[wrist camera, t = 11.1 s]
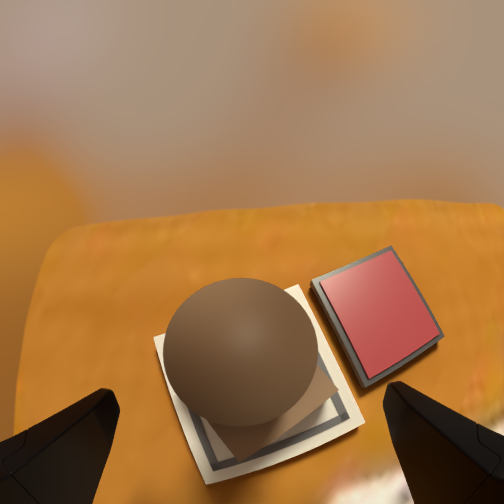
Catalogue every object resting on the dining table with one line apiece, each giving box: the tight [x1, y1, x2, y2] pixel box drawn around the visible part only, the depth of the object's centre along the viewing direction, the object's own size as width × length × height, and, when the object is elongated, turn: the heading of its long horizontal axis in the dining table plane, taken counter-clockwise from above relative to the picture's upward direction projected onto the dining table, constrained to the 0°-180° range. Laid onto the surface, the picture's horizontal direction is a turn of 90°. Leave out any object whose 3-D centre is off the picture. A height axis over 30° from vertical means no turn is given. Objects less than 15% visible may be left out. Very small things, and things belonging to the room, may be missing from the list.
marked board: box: [154, 284, 365, 485], centre depth 16 cm, size 10×10×1 cm
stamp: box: [163, 278, 339, 462], centre depth 11 cm, size 6×6×11 cm
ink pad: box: [310, 246, 444, 388], centre depth 18 cm, size 8×7×1 cm
